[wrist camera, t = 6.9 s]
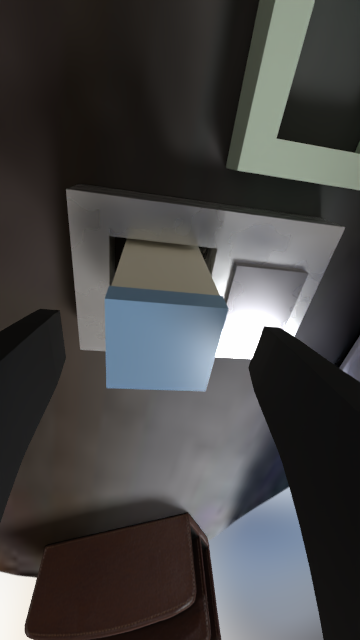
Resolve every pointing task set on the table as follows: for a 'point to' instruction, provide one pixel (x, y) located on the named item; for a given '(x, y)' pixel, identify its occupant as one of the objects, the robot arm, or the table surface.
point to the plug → (162, 318)
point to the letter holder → (127, 585)
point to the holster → (281, 105)
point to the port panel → (221, 259)
